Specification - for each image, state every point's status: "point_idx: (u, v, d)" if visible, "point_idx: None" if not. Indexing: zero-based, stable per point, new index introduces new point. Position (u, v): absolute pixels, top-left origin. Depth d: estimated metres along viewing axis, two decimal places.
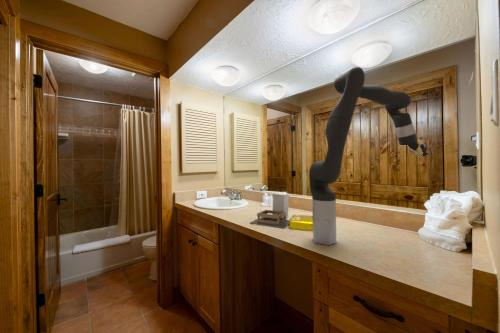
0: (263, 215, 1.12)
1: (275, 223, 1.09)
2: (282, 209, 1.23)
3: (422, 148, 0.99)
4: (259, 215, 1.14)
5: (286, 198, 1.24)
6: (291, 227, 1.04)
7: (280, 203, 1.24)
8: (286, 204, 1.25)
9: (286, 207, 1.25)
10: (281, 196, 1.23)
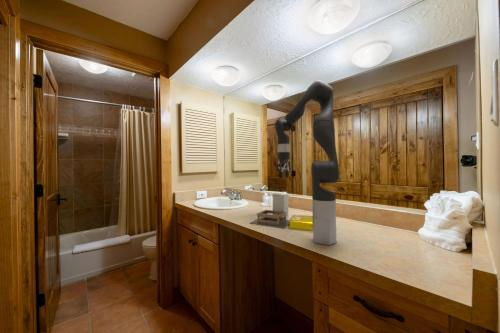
0: (263, 215, 1.12)
1: (275, 223, 1.09)
2: (282, 209, 1.23)
3: (289, 164, 1.33)
4: (259, 215, 1.14)
5: (286, 198, 1.24)
6: (291, 227, 1.04)
7: (280, 203, 1.24)
8: (286, 204, 1.25)
9: (286, 207, 1.25)
10: (281, 196, 1.23)
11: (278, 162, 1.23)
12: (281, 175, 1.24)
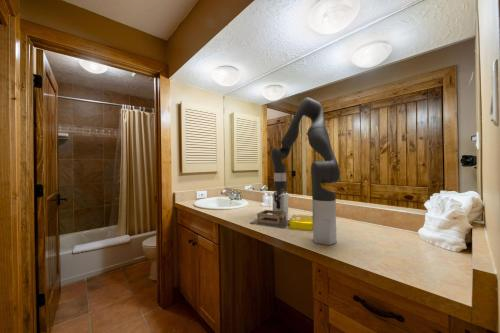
0: (263, 215, 1.12)
1: (275, 223, 1.09)
2: (282, 209, 1.23)
3: (285, 192, 1.32)
4: (259, 215, 1.14)
5: (286, 198, 1.24)
6: (291, 227, 1.04)
7: (280, 202, 1.24)
8: (286, 204, 1.25)
9: (286, 207, 1.25)
10: (281, 196, 1.23)
11: (275, 193, 1.21)
12: (279, 205, 1.23)
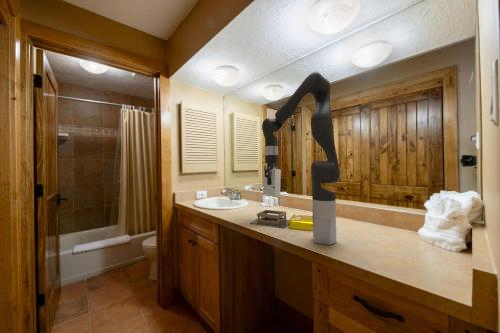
0: (263, 215, 1.12)
1: (275, 223, 1.09)
2: (273, 185, 1.12)
3: None
4: (259, 215, 1.14)
5: (277, 173, 1.13)
6: (291, 227, 1.04)
7: (271, 178, 1.12)
8: (278, 180, 1.13)
9: (278, 183, 1.14)
10: (272, 171, 1.12)
11: (266, 167, 1.10)
12: (270, 181, 1.12)
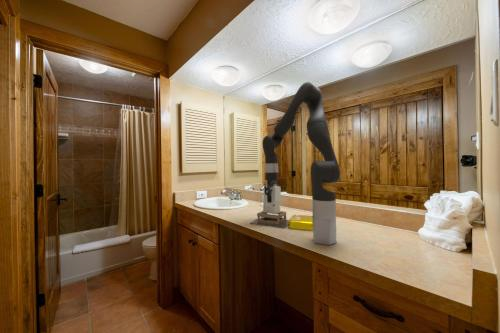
0: (263, 215, 1.12)
1: (275, 223, 1.09)
2: (273, 203, 1.12)
3: (277, 185, 1.20)
4: (259, 215, 1.14)
5: (277, 190, 1.13)
6: (291, 227, 1.04)
7: (272, 196, 1.12)
8: (278, 197, 1.13)
9: (278, 200, 1.14)
10: (272, 189, 1.12)
11: (266, 185, 1.10)
12: (270, 199, 1.12)
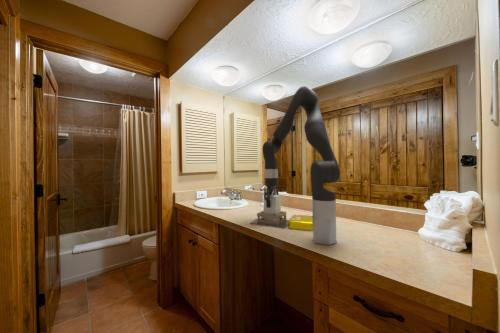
0: (263, 215, 1.12)
1: (275, 223, 1.09)
2: (274, 212, 1.12)
3: (277, 190, 1.21)
4: (259, 215, 1.14)
5: (278, 200, 1.13)
6: (291, 227, 1.04)
7: (272, 205, 1.13)
8: (278, 207, 1.14)
9: (278, 209, 1.14)
10: (273, 198, 1.12)
11: (266, 190, 1.10)
12: (269, 204, 1.11)
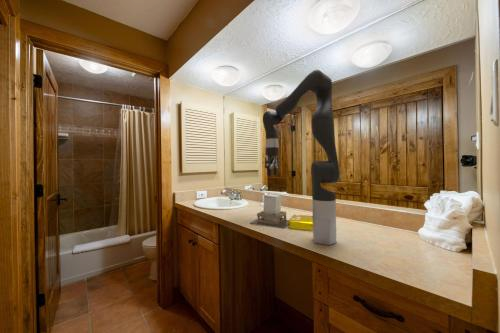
0: (263, 215, 1.12)
1: (275, 223, 1.09)
2: (274, 212, 1.12)
3: (278, 161, 1.23)
4: (259, 215, 1.14)
5: (278, 200, 1.13)
6: (291, 227, 1.04)
7: (272, 205, 1.13)
8: (278, 207, 1.14)
9: (278, 209, 1.14)
10: (273, 198, 1.12)
11: (266, 158, 1.12)
12: (270, 172, 1.13)
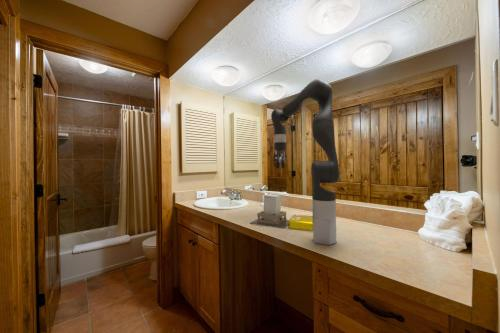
0: (263, 215, 1.12)
1: (275, 223, 1.09)
2: (274, 212, 1.12)
3: (285, 155, 1.33)
4: (259, 215, 1.14)
5: (278, 200, 1.13)
6: (291, 227, 1.04)
7: (272, 205, 1.13)
8: (278, 207, 1.14)
9: (278, 209, 1.14)
10: (273, 198, 1.12)
11: (275, 152, 1.22)
12: (278, 165, 1.24)
